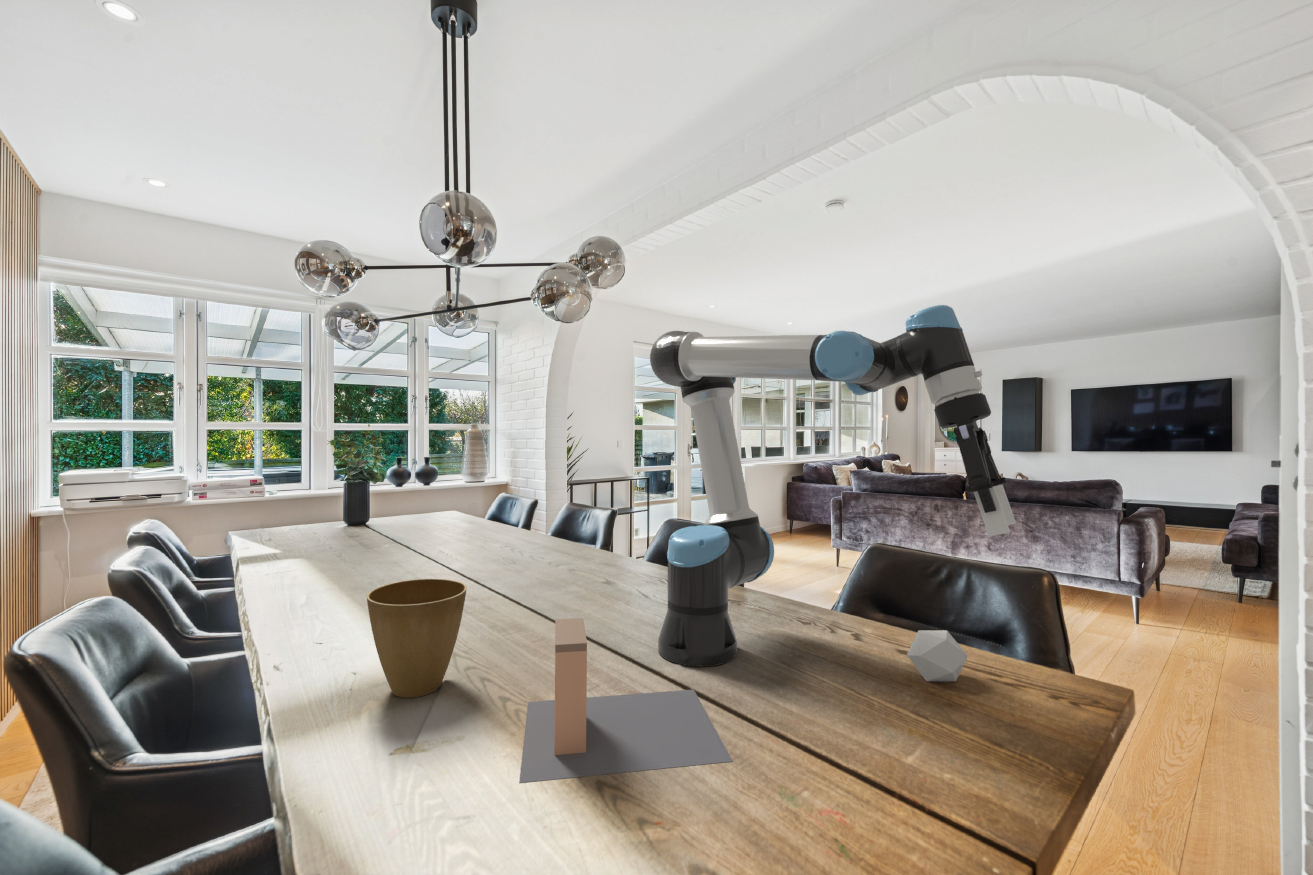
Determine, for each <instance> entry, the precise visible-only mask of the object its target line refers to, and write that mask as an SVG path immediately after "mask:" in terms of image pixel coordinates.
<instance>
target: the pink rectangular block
mask: <svg viewBox="0 0 1313 875" xmlns="http://www.w3.org/2000/svg"><path fill="white" fill-rule="evenodd" d="M554 621H555V622H554V624H555V629H554V630H555V632H554V634H555V637H554V640H555V641H554V648H555V649H554V700H555V733H554V755H562V754H573V753H584V752H586V700H587V688H588V687H587V686H588V683H587V682H588V680H587V678H588V677H587V675H588V672H587V670H588V669H587V668H588V667H587V665H588V642H587V641H588V640H587V633H586V628H585V620H584V617H579V618H578V617H577V618H559V619H558V618H557V619H555V620H554Z"/></svg>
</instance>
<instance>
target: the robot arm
mask: <svg viewBox="0 0 1313 875" xmlns="http://www.w3.org/2000/svg"><path fill="white" fill-rule="evenodd" d="M905 327H906V328H905V332H902V333H901V334H900V335H897V336H895V337H892V338H890V339H888V340H885V341H882V342H878V341H876V340H874V339H870V338H868V337H866V336H863V335H862V334H860V333H857V332H855V331H849V330H848V331H847V330H836V331H832V332H831V333H828V334H795V335H794V334H793V335H792V334H791V335H790V334H789V335H788V334H787V335H737V336H733V335H732V336H704V335H703V334H702V333H700V332H699V331H684V330H671V331H667V332H665V333H663V334H661V335H660V336H659V337H658V338H657V339H656V340H655V341H654V343H653V344H652V347H651V350H650V354H649V362H650V367H651V369H652V372H653V373H654V375H655V376H656V377H657V378H658V379H659V380H660V381H661V382H662V383H665V384H667V385H669V386H673V387H678V388H679V387H680V392H681V398H682V402H683V403H685V404H686V405H687V406H689V408H691V414H692V415H691V417H692V422H693V427H694V433H695V438H696V444H697V450H698V454H699V460H700V466H701V467H700V468H701V472H702V478H703V485H704V489H705V495H706V501H707V507H708V513H709V515H708V517H707V519H706V520H705V521H704V523H703V524H699V525H696V526H694V525H692V526H691V525H690V526H685V527H682V528H680V529H677V530H675V531H673V533H672V534H671V535H670V537H669V539H668V545H667V546H668V548H667V552H666V558H667V611H666V614H665V617H664V620H663V623H662V627H661V629H660V632H659V636H658V638H657V640H658V642H657V644H658V648H657V650H658V651H657V652H658V653H659V655H660V656H661V657H662V658H664V659H666V660H667V661H669V662H672V663H676V664H679V665H682V666H683V665H684V666H693V667H712V666H718V665H719V666H720V665H723V664H725V663H729V662H731V661H732V660H733V659H735V657H737V654H738V641H737V637H736V634H735V631H734V628H733V624H732V621H731V618H730V614H729V589H731V588H734V587H737V586H739V585H742V584H746V583H751V582H753V581H756V580H758V578H760V577H762V576H764V575H765V574H766V573H767V572H768V570H769V569H770V568H771V566H772V563H773V561H774V557H775V546H774V541H773V538H772V537H771V535H770V533H769V532H768V531H766V530H765V528H764V527H763V526H761V524H760V519H759V515H758V513H756V512H755V511H754V510H753V509H751V507H750V505H749V499H748V495H747V494H748V493H747V489H746V483H745V477H744V473H743V468H742V462H741V456H740V451H739V445H738V439H737V435H736V429H735V424H734V420H733V419H734V418H733V414H732V409H731V403H730V399H732V397H733V396H734V394H735V391H736V390H735V387H734V386H735V385H734V384H735V383H736V381H737V378H740V379H744V378H745V379H768V380H769V379H770V380H771V379H773V380H793V381H794V380H795V381H796V380H798V381H799V380H800V381H821V382H838V383H839V382H841V383H844V384H845V385H846V387H847V388H848V389H849V390H850V391H851V393H852V394H853V395H856V396H863V395H867V394H869V393H870V394H871V393H876V392H878V391H879V390H881V389H884V388H887V387H889V386H893V385H895V384H898V383H900V382H902V381H905V380H908V379H911V378H913V377H917V376H920V375H922V377H923V380H924V384H925V388H926V391H927V394H928V397H929V401H930V404H933V405H936V406H935V407H934V409H933V410H934V414H935V417H936V419H937V423H938V425H939V427H940V428H941V429H950V428H951V429H952V428H953V433H954V435H955V437H954V438H955V442H956V443H957V445H958V448H959V452H960V455H961V458H962V464H963V466H964V470H965V474H966V478H967V486H966V487H965V488H966V491H967V494H971V493H973V494H974V497H975V501H976V504H977V507H978V509H979V513H980V516H981V518H982V521H983V525H984V527H985V530H986V533H987V535H988V536H987V537H993V536H997V535H1004V534H1011V531H1010V528H1009V526H1011V525H1017V521H1016V519H1015V516H1014V513H1013V511H1012V510H1013V509H1012V507H1011V504H1010V502H1009V499H1008V497H1007V493H1006V491H1005V488H1004V485H1005V484H1007V480H1006V476H1005V477H1002V476H1001V475H1000V473H999V470H998V467H997V465H996V463H995V460H994V458H993V455H992V450H991V446H990V444H989V439H988V436H987V433H986V430H984V429H983V428H982V427H979V426H978V423H977V421H979V420H984V419H986V418H988V417H989V416H991V414H992V411H991V408H990V405H989V402H988V399H987V397H986V396H987V395H986V394H984V393H983V392H981V390H982V389H983V385H982V384H981V380H980V379H979V378H980V377H982V376H983V372H982V371H981V370H977V371H976V367H975V364H974V361H973V357H972V355H971V352H970V349H969V345H968V343H967V340H966V337H965V335H964V329H963V328H962V327H961V325H960V322H959V319H958V318H957V316H956V312H955V310H954V308H953V307H951V306H949V305H945V304H939V305H932V306H928V307H926V308H924V309H921V310H919V311H917V312H915V313H914V314H912V315H910V316H909V317H908V318H907V319H906V320H905Z"/></svg>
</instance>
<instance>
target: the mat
mask: <svg viewBox="0 0 1313 875" xmlns="http://www.w3.org/2000/svg"><path fill="white" fill-rule="evenodd" d="M526 710H527V711H526V715H525V716H526V718H525V727H524V736H523V737H524V738H523V745H522V746H523V747H522V756H521V762H520V774H519V784H526V783H534V782H535V783H537V782H543V781H545V782H546V781H553V780H564V779H574V778H576V779H577V778H585V777H594V776H595V777H596V776H603V775H615V774H625V773H633V772H642V771H643V772H644V771H652V770H653V771H654V770H665V769H673V768H682V767H683V768H684V767H692V766H693V767H695V766H703V765H712V764H713V765H715V764H722V763H732V762H734V761H733V758H732V757H731V756H730V753H729V752H728V750H727V748H726V746H725V744H724V743H723V740H722V739H721V737H720V735H719V733H718V731H717V730H716V728H715V726H714V724H713V722H712V720H711V718H710V717H709V715H708V713H707V711H706V710H705V707H704V706H703V704H702V702H701V700H700V699H699V697H698V695H697V693H696V691H695V689H681V690H669V691H657V692H656V691H655V692H643V693H633V694H632V693H630V694H629V693H628V694H617V695H616V694H615V695H604V696H603V695H602V696H601V695H600V696H589V697H587V700H586V752H584V753H573V754H562V755H554V733H555V699H551V700H536V701H528V702H527V708H526Z"/></svg>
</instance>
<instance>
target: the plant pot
mask: <svg viewBox="0 0 1313 875" xmlns="http://www.w3.org/2000/svg"><path fill="white" fill-rule="evenodd" d="M466 594H467V584H465V583H463V582H461V581H457V580H453V579H446V578H418V579H417V578H415V579H406V580H401V581H395V582H392V583H387V584H384V585H381V586H378V587H376V588H374V589H371V590H370V591H369V592H368V593H367V595H366V601H367V602H366V603H367V610H368V615H369V621H370V622H369V623H370V627H371V631H372V637H373V641H374V645H375V648H376V653H377V656H378V659H379V662H380V665H381V668H382V671H383V673H384V676H385V678H386V681H387V685H388V686H389V688H390V690H391V692H392V694H393V695H395V696H396V697H398V698H408V699H409V698H418V697H423V696H426V695H429V694H431V693H434V692H436V691H437V690H438V689H440V687H441V685H442V683H443V681H444V677H445V675H446V673H447V670H448V667H449V665H450V661H451V659H452V655H453V652H454V649H455V647H456V642H457V640H458V636H459V630H460V627H461V623H462V618H463V612H464V608H465V601H466Z"/></svg>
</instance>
